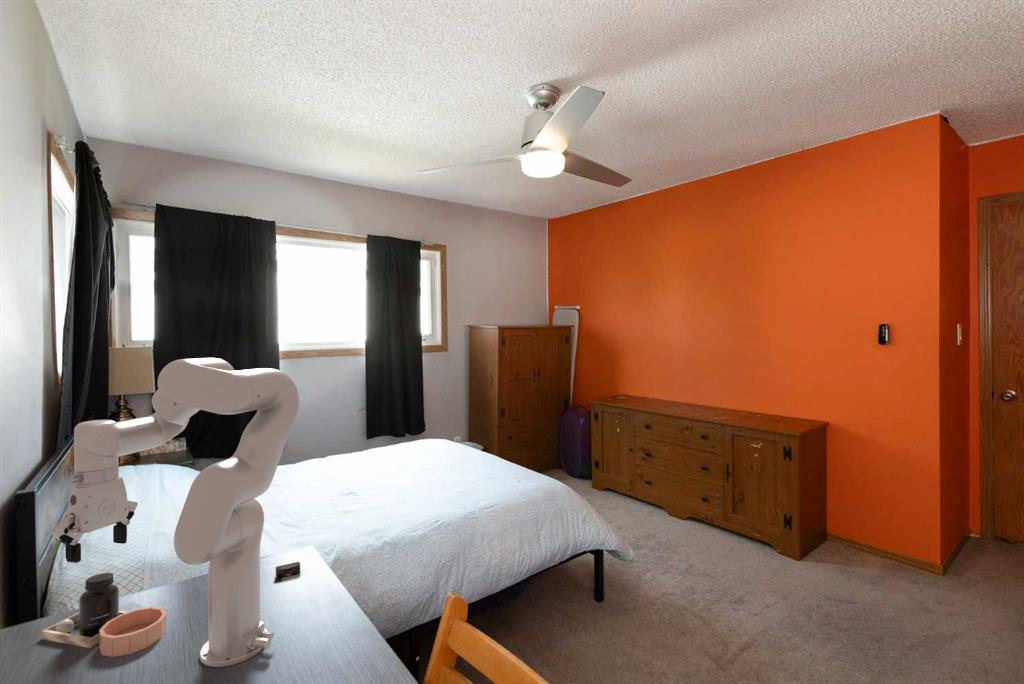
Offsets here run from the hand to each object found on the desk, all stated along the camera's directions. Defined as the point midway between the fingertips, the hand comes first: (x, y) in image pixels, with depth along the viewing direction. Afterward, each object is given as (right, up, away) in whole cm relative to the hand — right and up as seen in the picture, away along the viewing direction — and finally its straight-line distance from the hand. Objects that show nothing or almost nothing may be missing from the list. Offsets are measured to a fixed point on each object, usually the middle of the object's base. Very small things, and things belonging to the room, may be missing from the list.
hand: (97, 551), depth 108 cm
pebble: (-7, -18, -1) cm, 19 cm away
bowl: (+10, -18, -3) cm, 21 cm away
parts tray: (-2, -18, +1) cm, 18 cm away
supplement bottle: (0, -18, 0) cm, 18 cm away
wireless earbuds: (+31, -18, +24) cm, 43 cm away
